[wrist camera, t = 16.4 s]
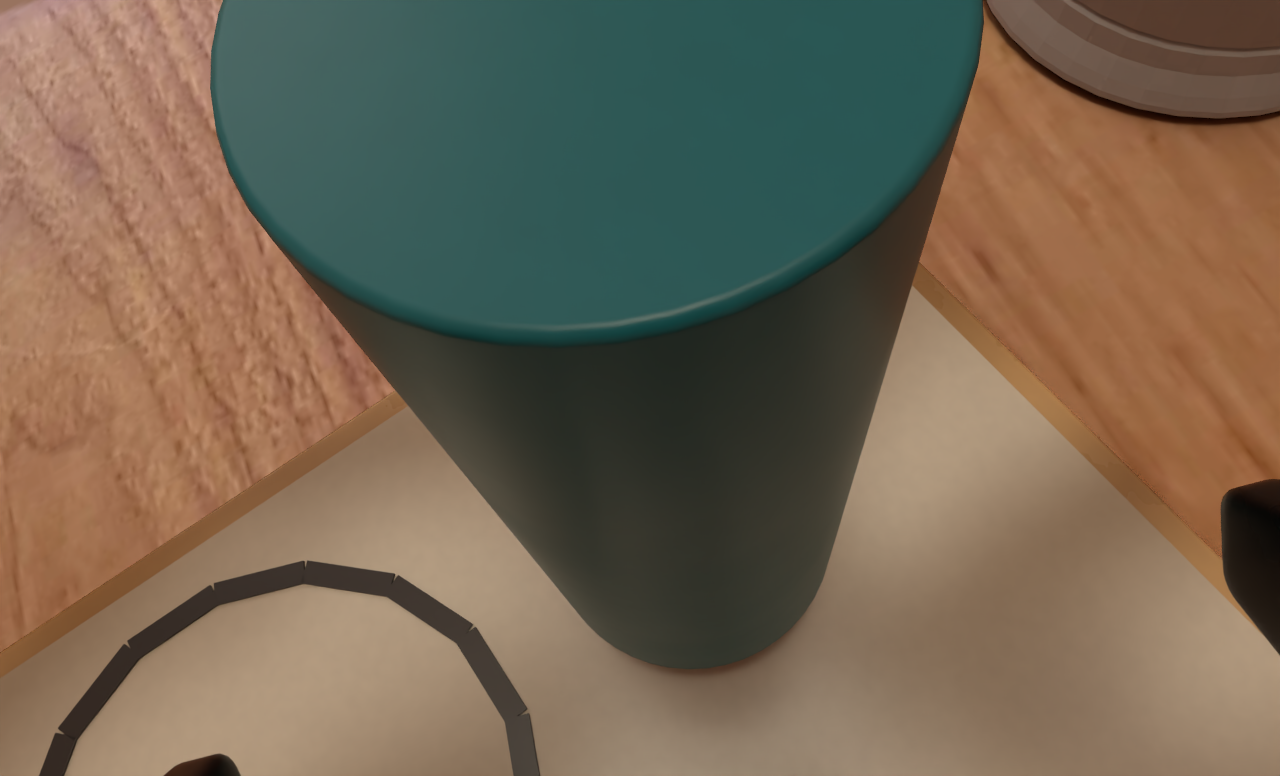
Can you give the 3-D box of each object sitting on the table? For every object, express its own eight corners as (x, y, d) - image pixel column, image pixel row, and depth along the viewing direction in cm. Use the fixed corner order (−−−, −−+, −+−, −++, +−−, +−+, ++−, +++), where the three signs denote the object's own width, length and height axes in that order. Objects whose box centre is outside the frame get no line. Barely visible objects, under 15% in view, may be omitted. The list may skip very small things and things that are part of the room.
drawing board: (1487, 844, 14) (1525, 845, 13) (360, 1909, 11) (334, 1983, 10) (785, 148, 20) (786, 124, 20) (-64, 714, 17) (-98, 709, 17)
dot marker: (882, 569, 16) (1173, 18, 5) (664, 737, 15) (452, 521, 4) (718, 375, 18) (667, -352, 7) (514, 518, 17) (88, -33, 6)
